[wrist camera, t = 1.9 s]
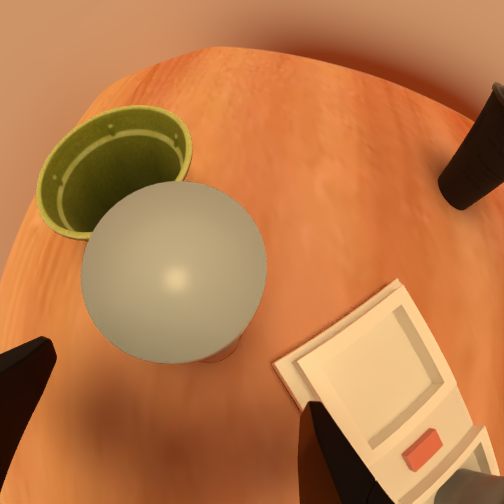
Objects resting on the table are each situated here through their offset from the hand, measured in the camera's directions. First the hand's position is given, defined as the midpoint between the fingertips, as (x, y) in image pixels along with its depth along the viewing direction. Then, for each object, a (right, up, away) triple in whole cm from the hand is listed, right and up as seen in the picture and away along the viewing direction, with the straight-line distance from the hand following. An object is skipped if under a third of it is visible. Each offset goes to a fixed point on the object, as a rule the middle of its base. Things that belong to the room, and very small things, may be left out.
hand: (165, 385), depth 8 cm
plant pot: (-6, +6, +13) cm, 16 cm away
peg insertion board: (+15, -11, +8) cm, 20 cm away
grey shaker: (0, -1, +11) cm, 11 cm away
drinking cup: (+25, +11, +18) cm, 33 cm away
